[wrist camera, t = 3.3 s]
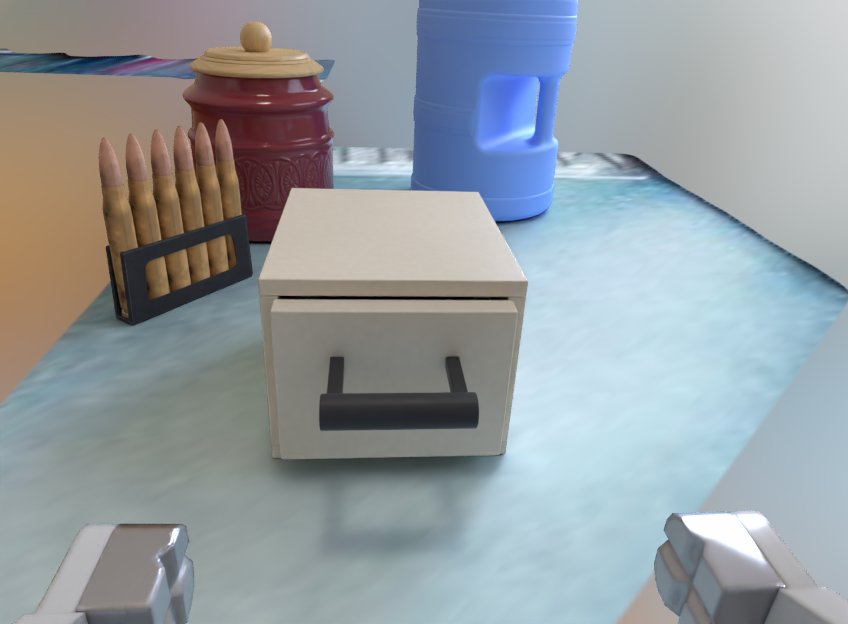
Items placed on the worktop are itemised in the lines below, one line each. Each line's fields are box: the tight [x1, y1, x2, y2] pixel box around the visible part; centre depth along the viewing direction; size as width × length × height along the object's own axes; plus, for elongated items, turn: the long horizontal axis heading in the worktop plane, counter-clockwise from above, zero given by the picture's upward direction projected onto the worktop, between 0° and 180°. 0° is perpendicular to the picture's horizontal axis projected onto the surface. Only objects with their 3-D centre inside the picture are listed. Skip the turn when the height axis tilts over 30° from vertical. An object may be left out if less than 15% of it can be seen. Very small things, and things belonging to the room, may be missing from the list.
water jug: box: [411, 0, 578, 221], centre depth 64 cm, size 16×16×28 cm
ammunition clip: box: [99, 119, 253, 325], centre depth 44 cm, size 11×2×12 cm, turn 147°
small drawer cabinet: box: [258, 188, 528, 458], centre depth 35 cm, size 14×12×10 cm
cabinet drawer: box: [270, 296, 518, 459], centre depth 32 cm, size 17×10×8 cm, turn 5°
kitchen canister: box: [183, 22, 334, 241], centre depth 57 cm, size 13×13×18 cm
